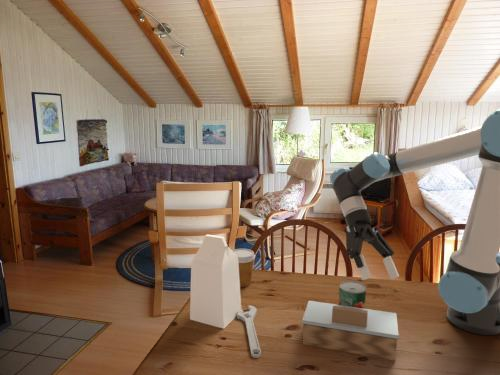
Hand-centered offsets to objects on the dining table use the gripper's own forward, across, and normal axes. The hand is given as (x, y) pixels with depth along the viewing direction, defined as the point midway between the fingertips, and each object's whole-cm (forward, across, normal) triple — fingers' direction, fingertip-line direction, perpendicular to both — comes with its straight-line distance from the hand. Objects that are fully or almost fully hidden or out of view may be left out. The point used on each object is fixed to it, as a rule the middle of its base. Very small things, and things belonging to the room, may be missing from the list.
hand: (381, 278), depth 112 cm
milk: (-3, +31, -41) cm, 52 cm away
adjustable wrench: (+5, +28, -31) cm, 42 cm away
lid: (+9, +10, -8) cm, 16 cm away
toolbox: (+14, +8, -12) cm, 20 cm away
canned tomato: (+8, 0, -16) cm, 18 cm away
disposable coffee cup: (-16, +13, -49) cm, 53 cm away
